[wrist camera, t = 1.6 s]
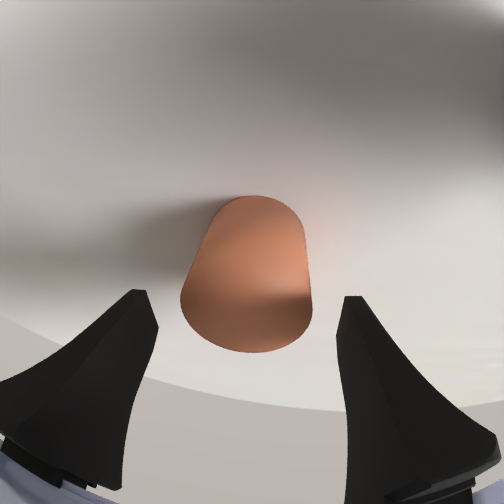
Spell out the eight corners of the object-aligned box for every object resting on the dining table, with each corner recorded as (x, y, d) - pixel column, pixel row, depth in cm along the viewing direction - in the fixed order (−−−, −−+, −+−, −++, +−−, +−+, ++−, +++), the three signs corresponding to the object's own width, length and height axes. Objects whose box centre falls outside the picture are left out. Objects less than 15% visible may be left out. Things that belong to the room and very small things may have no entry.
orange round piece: (322, 220, 14) (338, 289, 9) (279, 290, 16) (276, 364, 12) (227, 179, 13) (200, 235, 9) (197, 258, 15) (169, 328, 11)
